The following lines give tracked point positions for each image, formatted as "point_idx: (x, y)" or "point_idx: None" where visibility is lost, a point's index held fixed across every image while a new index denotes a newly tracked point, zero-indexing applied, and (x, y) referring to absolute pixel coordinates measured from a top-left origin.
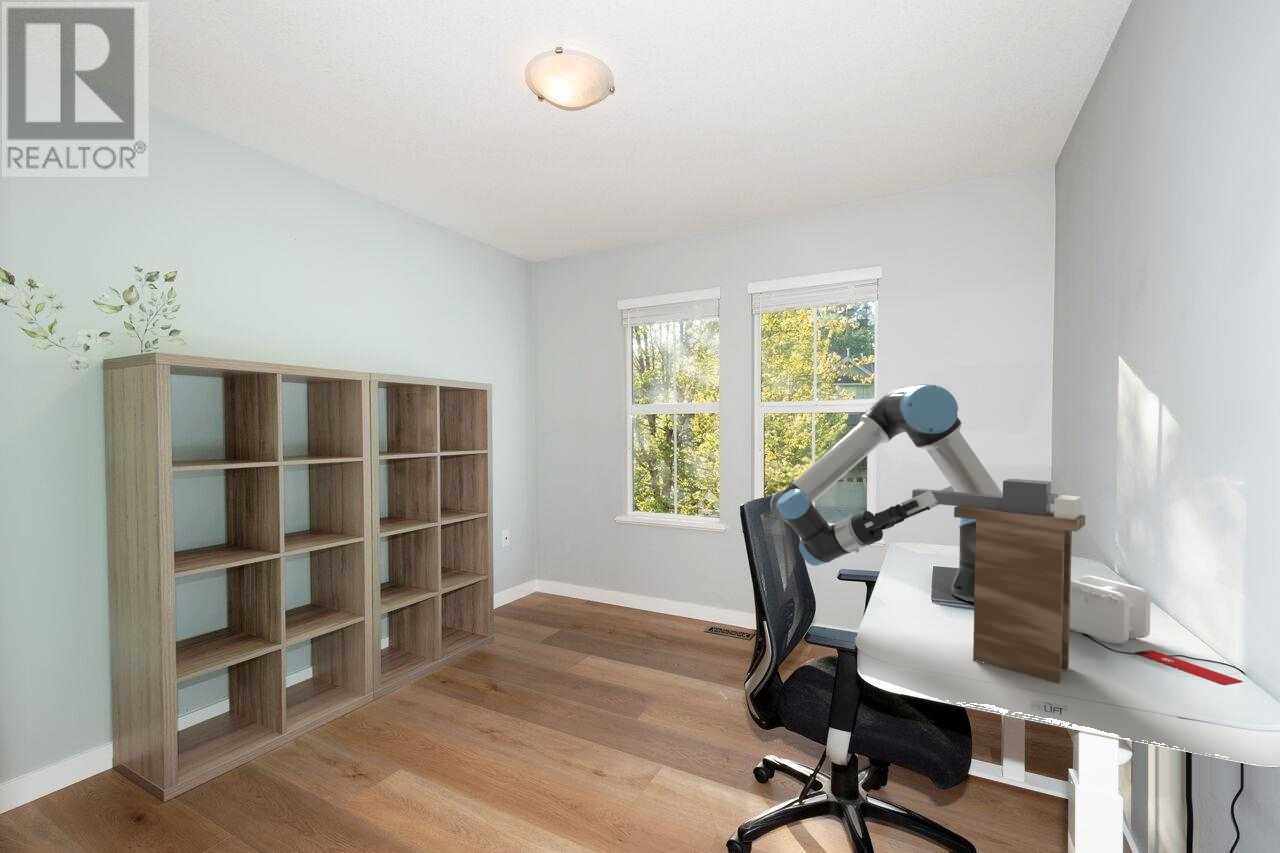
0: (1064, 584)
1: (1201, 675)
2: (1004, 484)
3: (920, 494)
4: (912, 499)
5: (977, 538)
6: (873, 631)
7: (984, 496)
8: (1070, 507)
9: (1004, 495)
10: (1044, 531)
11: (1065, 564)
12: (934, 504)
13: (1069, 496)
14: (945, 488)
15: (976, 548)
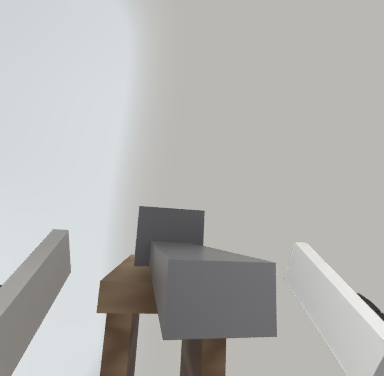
0: (134, 367)
1: None
2: (203, 217)
3: (326, 263)
4: (352, 296)
5: (224, 344)
6: None
7: (195, 244)
8: None
9: (202, 237)
10: None
11: (137, 333)
12: (17, 356)
13: None
14: (58, 244)
15: (224, 371)
